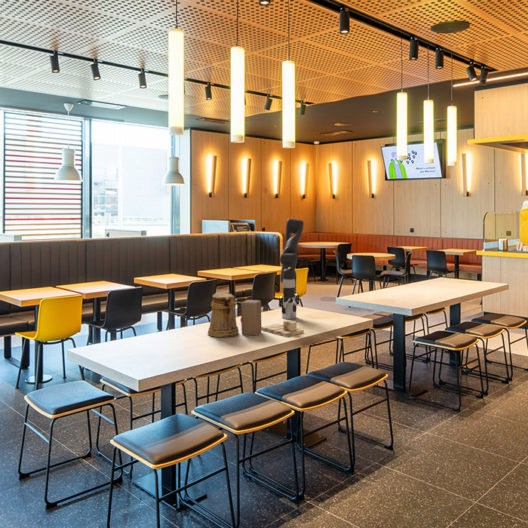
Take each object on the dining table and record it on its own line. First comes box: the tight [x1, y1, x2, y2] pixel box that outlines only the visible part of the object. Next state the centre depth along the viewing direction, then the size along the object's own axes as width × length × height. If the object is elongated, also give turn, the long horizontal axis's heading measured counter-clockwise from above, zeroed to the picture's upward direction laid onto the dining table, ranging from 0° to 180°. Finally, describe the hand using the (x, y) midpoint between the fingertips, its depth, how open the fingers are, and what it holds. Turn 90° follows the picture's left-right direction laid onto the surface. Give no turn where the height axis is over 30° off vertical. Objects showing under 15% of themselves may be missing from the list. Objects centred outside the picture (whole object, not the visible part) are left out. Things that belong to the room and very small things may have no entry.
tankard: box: [207, 292, 239, 338], centre depth 324 cm, size 18×24×25 cm
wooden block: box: [240, 299, 262, 336], centre depth 327 cm, size 10×10×20 cm
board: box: [261, 323, 305, 337], centre depth 332 cm, size 24×14×2 cm, turn 39°
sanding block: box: [282, 319, 298, 332], centre depth 326 cm, size 7×4×6 cm, turn 39°
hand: (289, 312), depth 325 cm, fingers open, 8 cm apart
